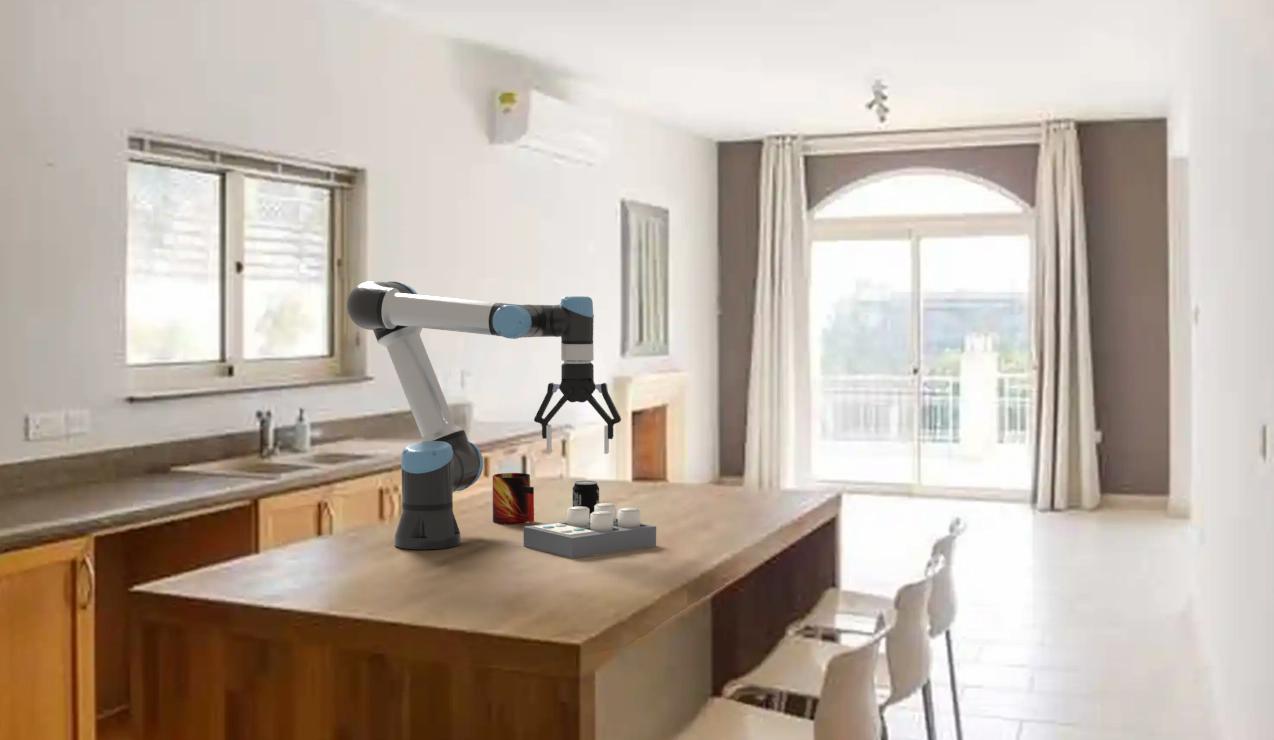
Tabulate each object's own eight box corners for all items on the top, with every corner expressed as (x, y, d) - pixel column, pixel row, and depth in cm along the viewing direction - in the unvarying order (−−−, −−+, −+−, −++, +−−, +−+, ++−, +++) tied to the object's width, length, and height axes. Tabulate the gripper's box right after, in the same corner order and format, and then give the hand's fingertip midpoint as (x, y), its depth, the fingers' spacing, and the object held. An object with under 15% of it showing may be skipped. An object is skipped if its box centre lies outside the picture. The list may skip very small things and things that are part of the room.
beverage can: (595, 532, 311) (595, 484, 311) (569, 532, 313) (569, 483, 312) (601, 528, 318) (601, 480, 317) (576, 527, 319) (576, 479, 318)
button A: (575, 533, 294) (575, 510, 293) (562, 530, 298) (562, 507, 298) (593, 530, 297) (593, 508, 297) (580, 527, 301) (580, 505, 301)
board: (572, 558, 279) (572, 535, 279) (523, 546, 294) (523, 524, 294) (656, 545, 294) (656, 524, 294) (605, 534, 309) (605, 514, 309)
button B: (603, 529, 299) (603, 506, 299) (590, 526, 303) (589, 504, 303) (620, 526, 302) (620, 504, 302) (607, 524, 306) (607, 502, 306)
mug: (532, 526, 320) (532, 479, 320) (485, 523, 326) (485, 476, 326) (551, 521, 329) (551, 475, 328) (505, 517, 335) (505, 472, 334)
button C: (599, 538, 287) (599, 515, 286) (585, 535, 291) (585, 512, 291) (617, 535, 290) (617, 512, 290) (603, 532, 294) (603, 510, 294)
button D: (627, 534, 292) (627, 511, 292) (613, 531, 296) (613, 508, 296) (644, 532, 295) (644, 509, 295) (630, 529, 299) (630, 506, 299)
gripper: (632, 361, 300) (632, 451, 301) (527, 361, 302) (528, 450, 303) (629, 363, 293) (629, 455, 293) (521, 362, 295) (522, 454, 296)
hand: (577, 453), depth 298 cm, fingers open, 13 cm apart
